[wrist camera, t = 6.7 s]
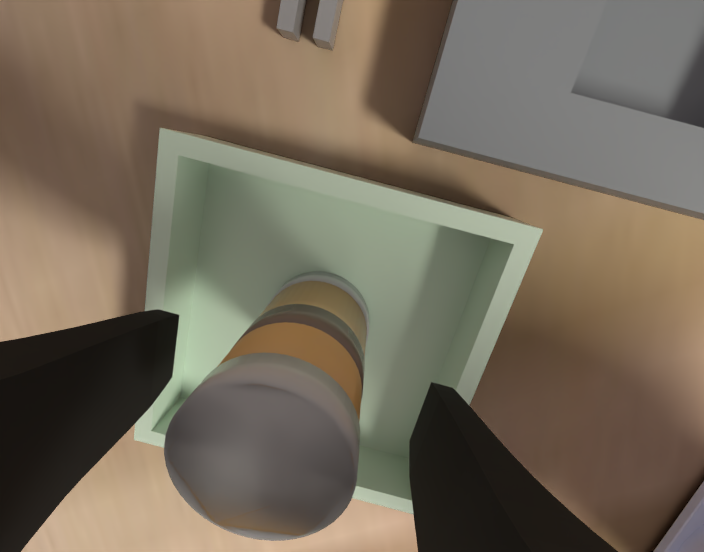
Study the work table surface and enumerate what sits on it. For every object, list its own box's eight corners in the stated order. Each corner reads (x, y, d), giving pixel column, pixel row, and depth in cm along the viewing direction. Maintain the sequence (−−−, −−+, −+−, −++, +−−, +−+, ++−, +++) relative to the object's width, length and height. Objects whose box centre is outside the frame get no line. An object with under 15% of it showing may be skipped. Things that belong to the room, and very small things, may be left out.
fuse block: (968, -100, 9) (1127, -173, 7) (763, 235, 12) (838, 249, 10) (515, -221, 9) (552, -325, 7) (412, 142, 12) (418, 137, 10)
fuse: (383, 291, 13) (386, 422, 6) (350, 375, 14) (322, 563, 7) (286, 256, 13) (185, 352, 6) (260, 343, 14) (149, 504, 7)
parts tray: (512, 217, 12) (543, 229, 10) (416, 463, 16) (422, 516, 13) (202, 135, 12) (159, 127, 10) (171, 398, 16) (133, 439, 13)
